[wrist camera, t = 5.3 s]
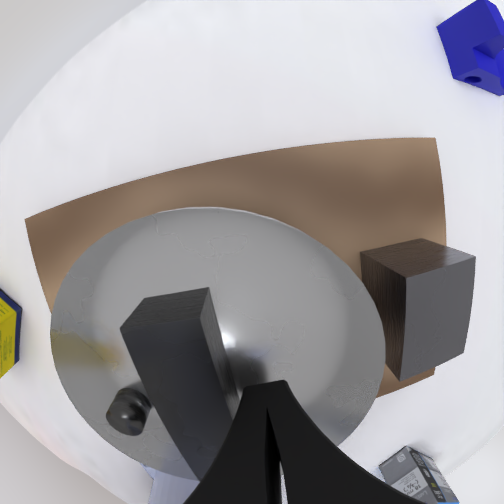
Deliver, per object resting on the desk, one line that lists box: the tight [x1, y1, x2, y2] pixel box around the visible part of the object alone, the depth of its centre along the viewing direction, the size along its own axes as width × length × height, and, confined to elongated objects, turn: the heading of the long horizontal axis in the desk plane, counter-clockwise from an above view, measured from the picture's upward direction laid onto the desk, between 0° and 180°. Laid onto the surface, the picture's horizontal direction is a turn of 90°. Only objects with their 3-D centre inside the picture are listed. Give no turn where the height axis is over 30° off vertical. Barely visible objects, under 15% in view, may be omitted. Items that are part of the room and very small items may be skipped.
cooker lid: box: [50, 207, 385, 482], centre depth 8 cm, size 13×13×3 cm
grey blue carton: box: [379, 446, 459, 504], centre depth 14 cm, size 9×4×12 cm, turn 48°
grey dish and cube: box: [360, 238, 476, 382], centre depth 12 cm, size 12×18×4 cm, turn 101°
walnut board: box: [25, 138, 446, 398], centre depth 15 cm, size 16×24×1 cm, turn 101°
